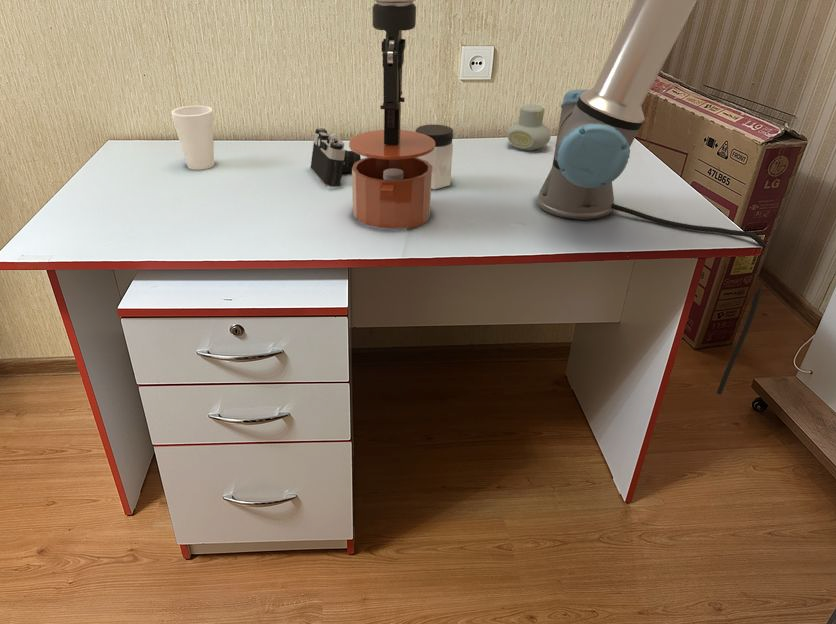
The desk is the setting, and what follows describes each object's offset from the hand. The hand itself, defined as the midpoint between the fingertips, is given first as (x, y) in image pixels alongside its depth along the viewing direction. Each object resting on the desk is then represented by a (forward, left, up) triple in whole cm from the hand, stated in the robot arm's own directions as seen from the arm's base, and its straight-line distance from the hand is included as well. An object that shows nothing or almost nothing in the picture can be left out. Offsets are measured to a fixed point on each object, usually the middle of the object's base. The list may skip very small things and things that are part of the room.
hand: (392, 140), depth 122 cm
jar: (+5, -20, -15) cm, 26 cm away
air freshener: (+2, -57, -15) cm, 59 cm away
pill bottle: (0, -1, -15) cm, 15 cm away
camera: (+24, -9, -15) cm, 30 cm away
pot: (0, 0, -15) cm, 15 cm away
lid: (0, 0, -1) cm, 1 cm away
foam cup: (+55, +8, -15) cm, 58 cm away
